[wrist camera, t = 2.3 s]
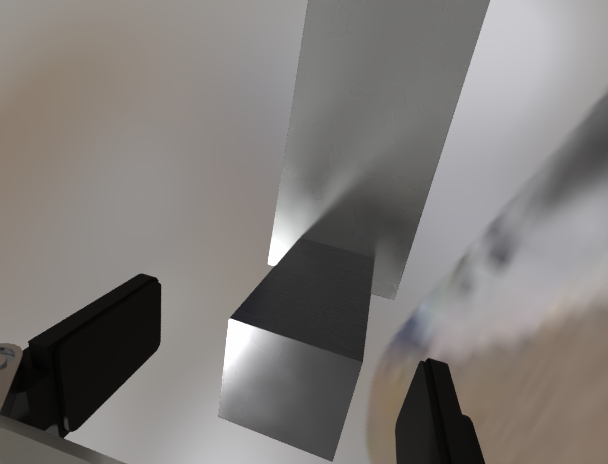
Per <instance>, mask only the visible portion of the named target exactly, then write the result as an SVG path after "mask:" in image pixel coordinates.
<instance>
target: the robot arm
mask: <svg viewBox="0 0 608 464" xmlns="http://www.w3.org/2000/svg"><path fill="white" fill-rule="evenodd" d="M160 338H161V284H160V283H158V279H157V278H156V277H152V276H149V275H146V274H139V275H137V276H135V277H134V278H132V279H130V280H128V281H127V282H125V283H124V284H122V285H121V286H119V287H117V288H115V289H114V290H112V291H110V292H109V293H107V294H106V295H104V296H102V297H100V298H99V299H97V300H95V301H94V302H92V303H91V304H89V305H87V306H86V307H84V308H83V309H81V310H79V311H77V312H76V313H74V314H72V315H71V316H69V317H67V318H66V319H64V320H62V321H61V322H60V323H58V324H56V325H54V326H53V327H51V328H49V329H48V330H46V331H45V332H43V333H41V334H39V335H38V336H36V337H34V338H33V339H31V340H30V341H28V343H29V347H28V348H26V349H24V350H23V351H22V349H21V348H20V347H19V346H17V345H15V344H9V343H0V464H126V463H124V462H121V461H118V460H116V459H114V458H111V457H108V456H106V455H104V454H101V453H99V452H96V451H94V450H91V449H89V448H86V447H83V446H81V445H79V444H76V443H73V442H71V441H68V440H66V439H64V437H65V436H66V435H67V434H68V433H69V432H70V431H71V432H73V431H75V430H77V429H78V428H79V427H80V426H81V425H82V424H83V423H84V422H85V421H86V420H87V419H88V418H89V417H90V416H91V415H92V414H93V413H94V412H95V411H96V410H97V409H98V408H99V407H100V406H101V405H102V404H103V403H104V402H105V401H106V400H107V399H108V398H110V397H111V395H113V393H114V392H116V391H117V390H118V388H119V387H121V386H122V385H123V384H124V383H125V381H127V380H128V379H129V378H130V377H131V376H132V375H133V374H134V373H135V372H136V371H137V369H139V368H140V367H141V366H142V365H143V364H144V363H145V362H146V361H147V360H148V359H149V358H150V357H151V356H152V355H153V354H154V353H155V352H156V351H157V349H158V347H159V345H160V340H161V339H160ZM395 437H396V459H397V464H485V461H484V458H483V455H482V452H481V448H480V445H479V442H478V439H477V435H476V432H475V429H474V426H473V423H472V421H471V419H470V418H469V417H468V416H466V415H462V413H461V409H460V406H459V402H458V399H457V395H456V392H455V388H454V384H453V381H452V377H451V374H450V370H449V367H448V364H446V363H444V362H440V361H437V360H434V359H430V358H428V359H427V360H426V362H424V361H420V362H419V364H418V367H417V369H416V372H415V375H414V377H413V380H412V382H411V385H410V388H409V390H408V393H407V395H406V398H405V400H404V403H403V406H402V408H401V411H400V413H399V416H398V418H397V422H396V428H395Z"/></svg>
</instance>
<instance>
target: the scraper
mask: <svg viewBox="0 0 608 464" xmlns="http://www.w3.org/2000/svg"><path fill="white" fill-rule="evenodd" d="M489 2H490V0H308V4H307V10H306V18H305V24H304V31H303V37H302V43H301V51H300V56H299V63H298V69H297V76H296V83H295V89H294V96H293V102H292V109H291V116H290V123H289V128H288V135H287V142H286V149H285V155H284V161H283V168H282V174H281V181H280V187H279V194H278V201H277V207H276V214H275V221H274V227H273V234H272V240H271V247H270V253H269V260H268V264H269V265H273V266H275V267H274V268H273V269H272V270H271V271H270V272H269V274H268V275H267V276H266V277H265V278H264V279H263V280H262V282H261V283H260V284H259V285H258V286H257V287H256V288H255V290H254V291H253V292H252V293H251V294H250V295H249V297H247V299H246V300H245V301H244V302H243V303H242V304H241V306H240V307H239V308H238V309H237V310H236V311H235V313H234V314H233V315H232V316H231V317H230V318H229V325H228V334H227V342H226V352H225V361H224V369H223V378H222V387H221V395H220V404H219V414H218V417H220V418H223V419H225V420H228V421H230V422H233V423H235V424H238V425H240V426H243V427H245V428H248V429H250V430H253V431H255V432H258V433H261V434H263V435H266V436H268V437H271V438H273V439H276V440H278V441H281V442H284V443H286V444H288V445H291V446H293V447H296V448H299V449H301V450H304V451H306V452H309V453H311V454H314V455H317V456H319V457H322V458H324V459H326V460H329V461H333V459H334V455H335V452H336V449H337V445H338V442H339V439H340V435H341V432H342V429H343V425H344V422H345V419H346V415H347V412H348V409H349V406H350V403H351V399H352V396H353V393H354V389H355V386H356V383H357V379H358V376H359V372H360V369H361V366H362V363H363V355H364V347H365V338H366V330H367V321H368V313H369V305H370V296H371V294H374V295H378V296H381V297H385V298H388V299H392V300H394V299H395V296H396V293H397V290H398V287H399V284H400V281H401V277H402V274H403V271H404V268H405V265H406V261H407V259H408V255H409V252H410V249H411V246H412V243H413V240H414V237H415V234H416V231H417V227H418V224H419V221H420V218H421V215H422V211H423V209H424V205H425V202H426V199H427V196H428V193H429V190H430V187H431V183H432V180H433V177H434V174H435V171H436V167H437V165H438V162H439V159H440V155H441V152H442V149H443V146H444V143H445V140H446V136H447V133H448V130H449V127H450V124H451V121H452V118H453V115H454V112H455V108H456V105H457V102H458V99H459V96H460V93H461V89H462V87H463V83H464V80H465V77H466V74H467V71H468V68H469V65H470V61H471V58H472V55H473V52H474V49H475V46H476V43H477V39H478V36H479V33H480V30H481V27H482V24H483V20H484V18H485V14H486V11H487V8H488V5H489Z"/></svg>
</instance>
